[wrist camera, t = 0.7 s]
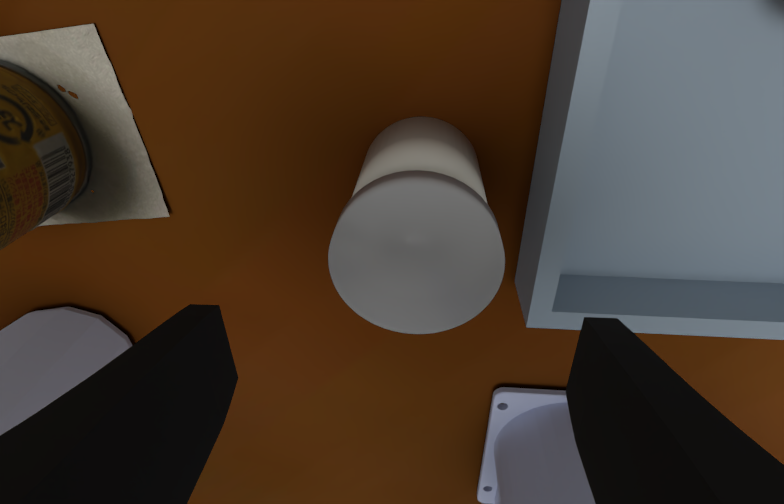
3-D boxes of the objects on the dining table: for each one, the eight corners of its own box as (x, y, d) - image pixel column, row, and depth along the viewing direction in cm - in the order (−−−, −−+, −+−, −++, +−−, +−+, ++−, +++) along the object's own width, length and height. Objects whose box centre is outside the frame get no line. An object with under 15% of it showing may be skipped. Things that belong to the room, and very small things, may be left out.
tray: (847, 295, 20) (910, 345, 17) (514, 281, 20) (526, 327, 18) (1177, -226, 11) (1393, -280, 9) (597, -214, 12) (640, -260, 10)
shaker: (476, 229, 19) (494, 337, 14) (361, 225, 20) (333, 329, 14) (489, 113, 17) (516, 188, 11) (357, 111, 17) (321, 182, 12)
